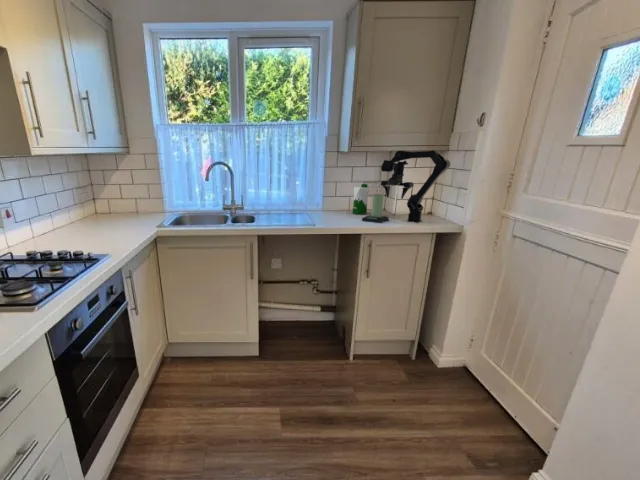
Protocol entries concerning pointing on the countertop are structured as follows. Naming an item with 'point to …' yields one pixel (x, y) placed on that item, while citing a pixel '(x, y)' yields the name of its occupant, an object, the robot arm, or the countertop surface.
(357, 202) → the milk carton
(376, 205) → the tumbler
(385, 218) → the scale
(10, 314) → the countertop surface
